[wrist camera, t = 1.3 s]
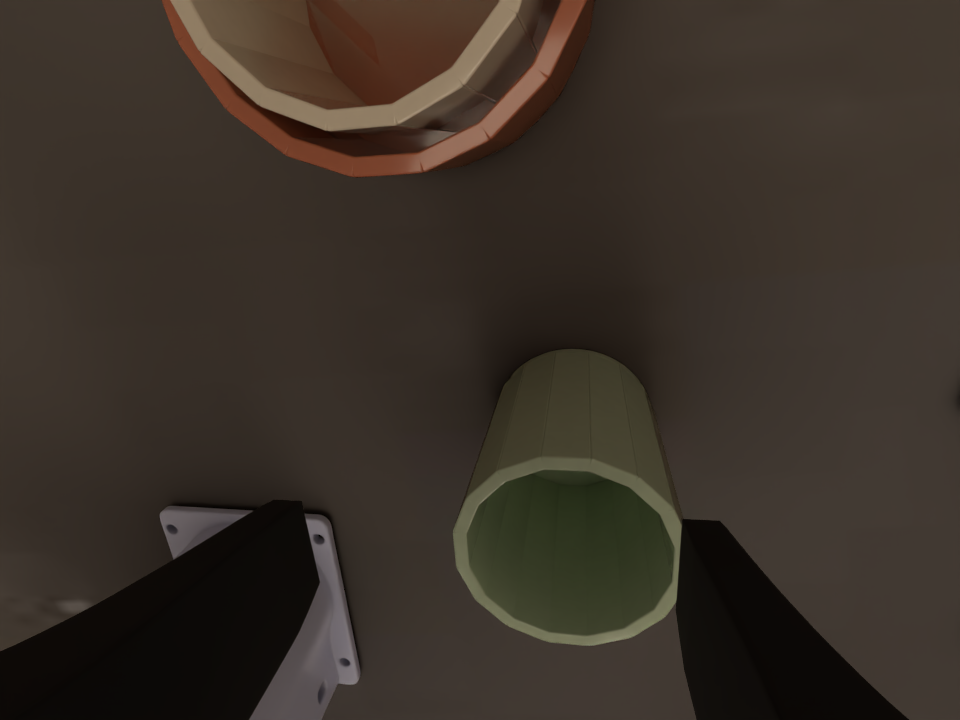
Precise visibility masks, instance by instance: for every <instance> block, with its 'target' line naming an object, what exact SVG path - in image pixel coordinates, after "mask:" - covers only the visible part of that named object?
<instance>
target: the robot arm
mask: <svg viewBox="0 0 960 720" xmlns="http://www.w3.org/2000/svg"><path fill="white" fill-rule="evenodd" d="M160 521H161V524H162V527H163V530H164V533H165V536H166V538H167V541H168V544H169V547H170V550H171V553H172V556H173V560H172V561H171V562H169V563H167V564H166V565H164V566H162V567H161V568H159V569H157V570H155V571H154V572H152V573H150V574H148V575H147V576H145V577H143V578H142V579H140V580H138V581H136V582H135V583H133V584H131V585H129V586H128V587H126V588H124V589H123V590H121V591H119V592H117V593H116V594H114V595H112V596H110V597H109V598H107V599H105V600H103V601H101V602H100V603H98V604H96V605H94V606H92V607H90V608H88V609H87V610H85V611H83V612H81V613H79V614H77V615H75V616H73V617H71V618H69V619H67V620H65V621H63V622H61V623H59V624H57V625H55V626H53V627H51V628H49V629H47V630H45V631H43V632H41V633H39V634H37V635H35V636H33V637H31V638H29V639H27V640H25V641H23V642H20V643H18V644H16V645H14V646H12V647H9V648H7V649H5V650H3V651H0V720H321V719H322V717H323V715H324V713H325V710H326V708H327V706H328V704H329V702H330V700H331V697H332V695H333V693H334V691H335V689H336V686H337V684H338V683H340V684H348V685H353V684H356V683H357V682H358V680H359V678H360V675H361V671H360V666H359V661H358V656H357V651H356V646H355V641H354V636H353V631H352V626H351V621H350V616H349V611H348V606H347V601H346V596H345V591H344V586H343V581H342V576H341V571H340V566H339V561H338V556H337V551H336V546H335V541H334V536H333V531H332V526H331V523H330V521H329V520H328V519H327V518H326V517H324V516H323V515H319V514H304V509H303V505H302V501H289V500H273V501H271V502H269V503H267V504H265V505H263V506H261V507H259V508H258V509H256V510H254V511H253V510H236V509H219V508H202V507H185V506H168V507H166V508H165V509H164V510H163V511H161V513H160ZM318 535H321V536H322V537H323V538H321V537H319V536H318ZM676 615H677V622H678V630H679V637H680V644H681V651H682V657H683V664H684V670H685V674H686V679H687V683H688V687H689V691H690V695H691V699H692V703H693V707H694V711H695V715H696V719H697V720H909V719H908V718H906V717H905V716H904V715H903V714H902V713H901V712H900V711H898V710H897V709H896V708H895V707H894V706H893V705H892V704H890V703H889V702H888V701H887V700H886V699H885V698H884V697H883V696H882V695H881V694H880V693H879V692H878V691H877V690H875V689H874V688H873V687H872V686H871V685H870V684H869V683H868V682H867V681H866V680H865V679H864V678H863V677H862V676H861V675H860V674H859V673H858V672H857V671H856V670H855V669H854V668H853V667H852V666H851V665H850V664H849V663H848V662H847V661H846V660H845V659H844V658H843V657H842V656H841V655H840V654H839V653H838V652H837V651H836V650H835V649H834V648H833V647H832V646H831V645H830V644H829V643H828V642H827V641H826V640H825V639H824V638H823V637H822V636H821V635H820V634H819V633H818V632H817V631H816V630H815V629H814V628H813V627H812V626H811V625H810V624H809V622H808V621H807V620H806V619H805V618H804V617H803V616H802V615H801V614H800V613H799V612H798V610H797V609H796V608H795V607H794V606H793V605H792V604H791V603H790V602H789V601H788V600H787V599H786V597H785V596H784V595H783V594H782V593H781V592H780V591H779V590H778V589H777V587H776V586H775V585H774V584H773V583H772V582H771V581H770V579H769V578H768V577H767V576H766V575H765V574H764V572H763V571H762V570H761V569H760V568H759V567H758V565H757V564H756V563H755V562H754V561H753V560H752V558H751V557H750V556H749V555H748V554H747V552H746V551H745V550H744V549H743V547H742V546H741V545H740V544H739V543H738V541H737V540H736V539H735V538H734V536H733V535H732V534H731V533H730V532H729V530H728V529H727V528H726V527H725V526H724V525H723V524H722V523H721V522H720V521H712V520H691V519H682V528H681V542H680V557H679V571H678V586H677V600H676Z"/></svg>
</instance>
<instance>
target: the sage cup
mask: <svg viewBox="0 0 960 720" xmlns="http://www.w3.org/2000/svg"><path fill="white" fill-rule="evenodd" d="M682 519H683V516H682V512H681V508H680V504H679V501H678V497H677V493H676V490H675V486H674V482H673V478H672V475H671V471H670V467H669V464H668V460H667V456H666V452H665V449H664V445H663V441H662V437H661V434H660V430H659V426H658V423H657V419H656V415H655V412H654V410H653V407H652V405H651V402H650V399H649V396H648V394H647V392H646V390H645V388H644V386H643V385H642V384H641V382H640V381H639V379H638V378H637V377H636V376H635V375H634V374H633V373H632V372H631V371H630V370H629V369H628V368H626V367H625V366H624V365H623V364H621V363H619V362H618V361H616V360H615V359H613V358H610V357H608V356H606V355H604V354H601V353H597V352H594V351H589V350H583V349H561V350H556V351H550V352H547V353H544V354H541V355H539V356H537V357H535V358H532V359H531V360H529V361H528V362H526V363H524V364H523V365H522V366H520V367H519V368H518V369H517V370H516V371H515V372H514V373H513V374H512V375H511V376H510V377H509V379H508V380H507V382H506V383H505V384H504V386H503V388H502V391H501V393H500V395H499V398H498V401H497V403H496V406H495V409H494V411H493V414H492V417H491V420H490V423H489V426H488V429H487V432H486V435H485V438H484V440H483V443H482V446H481V449H480V452H479V455H478V458H477V461H476V464H475V467H474V470H473V473H472V476H471V479H470V481H469V484H468V487H467V490H466V493H465V496H464V499H463V502H462V505H461V508H460V511H459V514H458V517H457V520H456V522H455V525H454V528H453V541H454V551H455V560H456V567H457V570H458V571H459V573H460V575H461V576H462V578H463V580H464V582H465V583H466V585H467V587H468V588H469V590H470V592H471V593H472V595H473V597H474V599H475V600H476V601H477V602H478V603H479V604H481V605H482V606H483V607H484V608H486V609H487V610H488V611H489V612H490V613H492V614H493V615H494V616H495V617H497V618H498V619H499V620H500V621H501V622H503V623H504V624H505V625H508V627H511V628H513V629H516V630H518V631H521V632H523V633H526V634H528V635H531V636H533V637H536V638H538V639H541V640H543V641H547V642H552V643H562V644H572V645H583V646H589V645H590V646H593V645H598V644H603V643H608V642H613V641H618V640H623V639H628V638H631V637H634V636H635V635H637V634H639V633H640V632H642V631H643V630H645V629H647V628H648V627H650V626H652V625H653V624H655V623H657V622H658V621H660V620H661V619H663V618H665V616H667V614H668V613H669V611H670V610H671V608H672V607H673V605H674V604H675V603H676V600H677V586H678V571H679V557H680V542H681V528H682Z"/></svg>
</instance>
